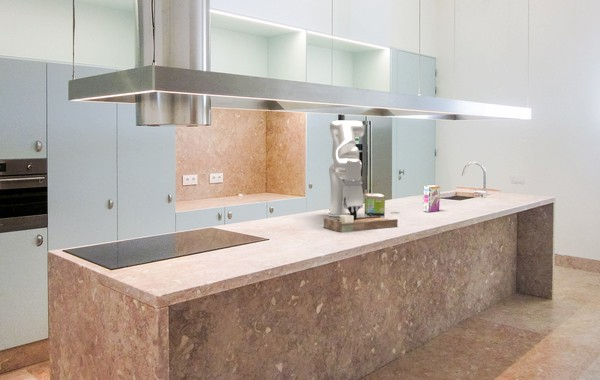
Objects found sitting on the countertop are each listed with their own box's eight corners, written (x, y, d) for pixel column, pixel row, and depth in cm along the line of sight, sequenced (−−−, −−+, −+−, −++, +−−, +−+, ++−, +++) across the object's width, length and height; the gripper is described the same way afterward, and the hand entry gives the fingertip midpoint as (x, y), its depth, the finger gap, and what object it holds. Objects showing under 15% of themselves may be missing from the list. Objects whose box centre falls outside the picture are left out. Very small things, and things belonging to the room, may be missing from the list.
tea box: (385, 222, 285) (385, 195, 284) (366, 222, 285) (367, 195, 284) (381, 218, 300) (381, 193, 299) (364, 218, 300) (364, 193, 299)
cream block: (339, 223, 260) (339, 215, 259) (348, 223, 262) (348, 214, 262) (345, 225, 255) (345, 216, 255) (353, 224, 258) (353, 215, 257)
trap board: (323, 227, 267) (323, 218, 267) (379, 222, 283) (379, 213, 283) (340, 232, 253) (340, 222, 253) (397, 226, 269) (397, 217, 268)
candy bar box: (429, 212, 324) (429, 186, 322) (422, 211, 328) (423, 186, 326) (439, 211, 331) (440, 185, 330) (433, 210, 335) (433, 185, 333)
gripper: (361, 182, 267) (361, 218, 268) (336, 183, 260) (336, 220, 261) (369, 183, 260) (369, 219, 262) (344, 184, 253) (344, 221, 255)
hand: (353, 219), depth 262 cm, fingers closed
